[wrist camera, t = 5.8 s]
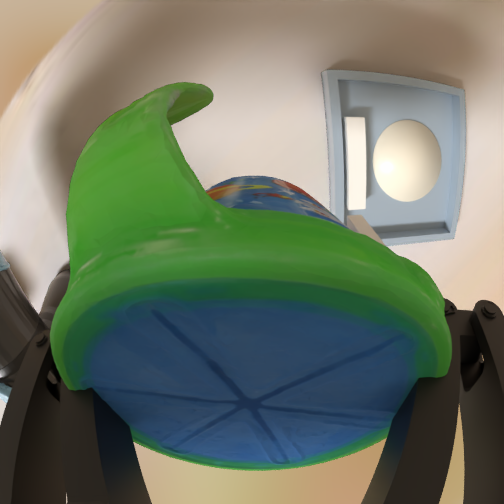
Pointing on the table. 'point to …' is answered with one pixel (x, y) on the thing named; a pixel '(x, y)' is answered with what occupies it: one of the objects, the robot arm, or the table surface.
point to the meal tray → (395, 153)
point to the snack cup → (232, 305)
